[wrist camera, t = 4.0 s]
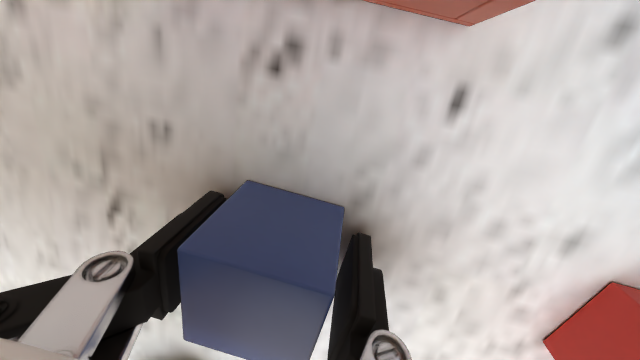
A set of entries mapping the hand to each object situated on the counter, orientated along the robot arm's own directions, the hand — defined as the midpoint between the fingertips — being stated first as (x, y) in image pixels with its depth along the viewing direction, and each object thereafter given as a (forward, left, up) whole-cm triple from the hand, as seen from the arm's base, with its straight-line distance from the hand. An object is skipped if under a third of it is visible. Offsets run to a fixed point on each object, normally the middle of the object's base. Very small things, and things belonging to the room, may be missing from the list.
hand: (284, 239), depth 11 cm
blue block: (0, 0, -1) cm, 1 cm away
